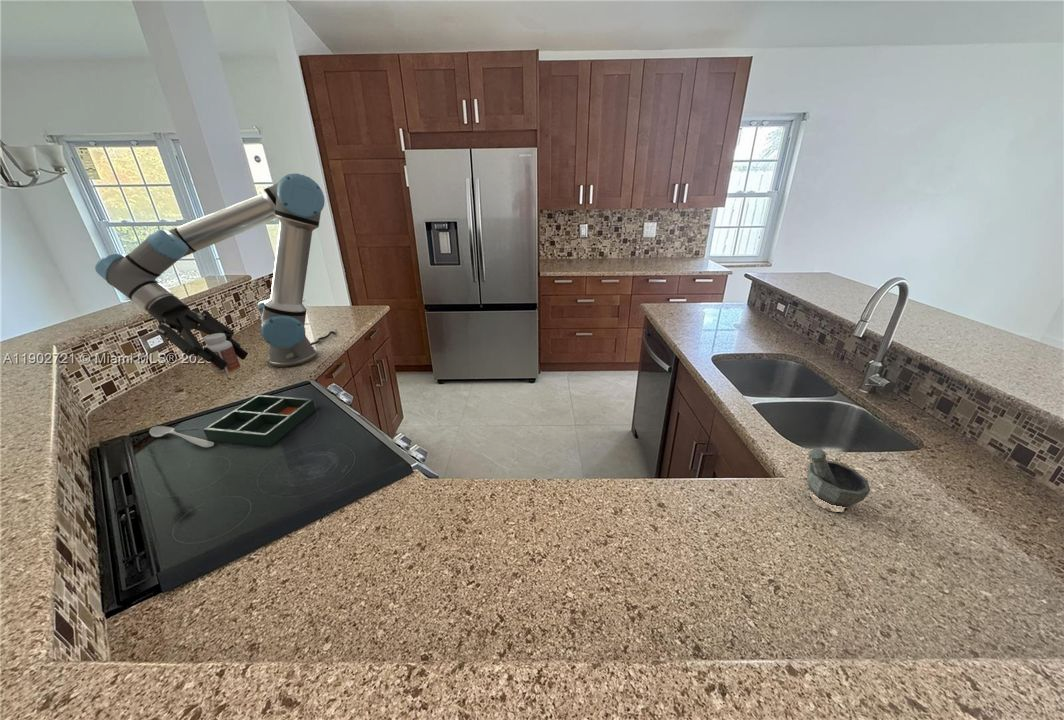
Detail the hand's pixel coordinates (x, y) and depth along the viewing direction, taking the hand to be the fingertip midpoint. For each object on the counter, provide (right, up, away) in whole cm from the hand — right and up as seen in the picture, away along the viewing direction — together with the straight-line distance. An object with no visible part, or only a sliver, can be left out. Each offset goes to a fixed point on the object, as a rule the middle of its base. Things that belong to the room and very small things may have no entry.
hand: (235, 361), depth 106 cm
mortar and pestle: (+146, -29, -29) cm, 151 cm away
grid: (+12, -17, -5) cm, 22 cm away
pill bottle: (-4, -3, +2) cm, 5 cm away
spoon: (-4, -20, -11) cm, 23 cm away
